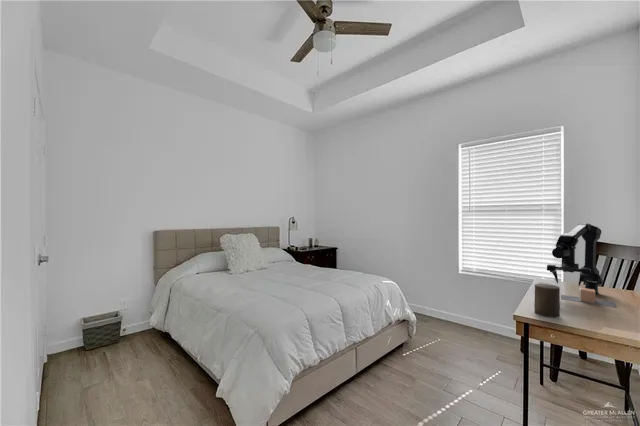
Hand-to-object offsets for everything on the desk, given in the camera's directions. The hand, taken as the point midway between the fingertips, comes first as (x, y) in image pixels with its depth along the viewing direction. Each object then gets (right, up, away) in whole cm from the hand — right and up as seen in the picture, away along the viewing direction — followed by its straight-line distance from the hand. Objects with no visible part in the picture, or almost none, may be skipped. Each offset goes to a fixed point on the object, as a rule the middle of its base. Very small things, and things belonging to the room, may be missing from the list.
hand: (568, 284), depth 163 cm
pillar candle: (-30, -9, -23) cm, 39 cm away
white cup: (-17, -9, -6) cm, 19 cm away
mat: (+6, -8, -5) cm, 11 cm away
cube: (+4, -5, -3) cm, 7 cm away
